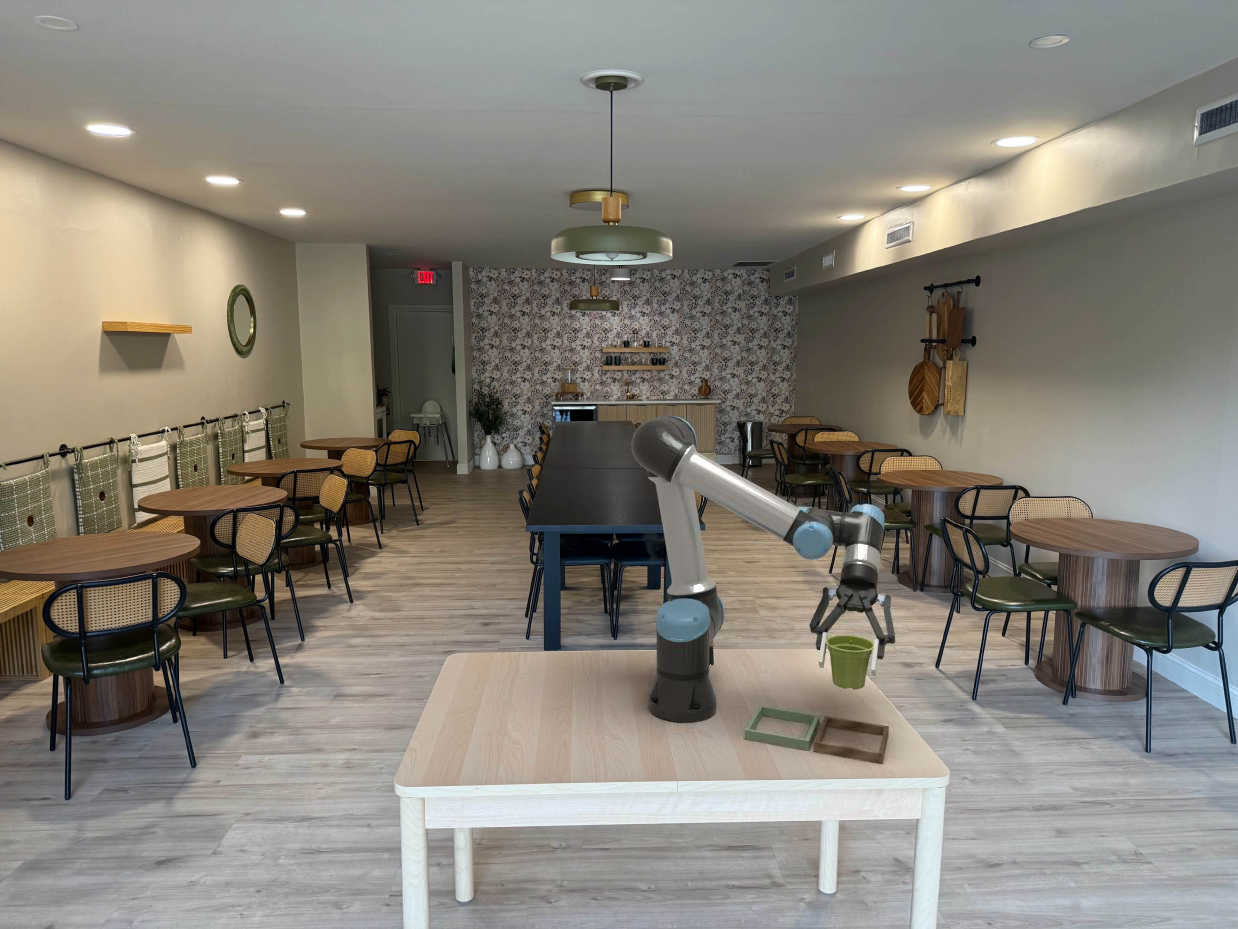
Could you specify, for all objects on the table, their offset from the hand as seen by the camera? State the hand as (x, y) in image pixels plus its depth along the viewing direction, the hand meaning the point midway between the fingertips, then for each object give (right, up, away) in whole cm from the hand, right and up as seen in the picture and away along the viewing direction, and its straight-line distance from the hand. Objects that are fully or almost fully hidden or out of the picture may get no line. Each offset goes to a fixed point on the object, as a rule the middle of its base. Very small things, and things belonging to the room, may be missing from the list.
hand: (846, 668), depth 158 cm
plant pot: (+1, -4, +3) cm, 6 cm away
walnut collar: (+2, -16, +4) cm, 17 cm away
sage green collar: (-11, -16, +10) cm, 21 cm away
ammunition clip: (-26, -11, +48) cm, 55 cm away
